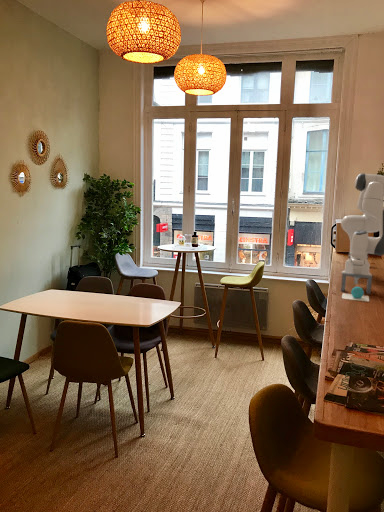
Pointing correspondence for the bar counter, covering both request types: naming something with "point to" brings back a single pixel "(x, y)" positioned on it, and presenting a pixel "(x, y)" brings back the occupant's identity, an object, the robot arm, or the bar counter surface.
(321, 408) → the bar counter surface
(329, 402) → the bar counter surface
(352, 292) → the ball
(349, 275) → the bridge
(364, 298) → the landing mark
